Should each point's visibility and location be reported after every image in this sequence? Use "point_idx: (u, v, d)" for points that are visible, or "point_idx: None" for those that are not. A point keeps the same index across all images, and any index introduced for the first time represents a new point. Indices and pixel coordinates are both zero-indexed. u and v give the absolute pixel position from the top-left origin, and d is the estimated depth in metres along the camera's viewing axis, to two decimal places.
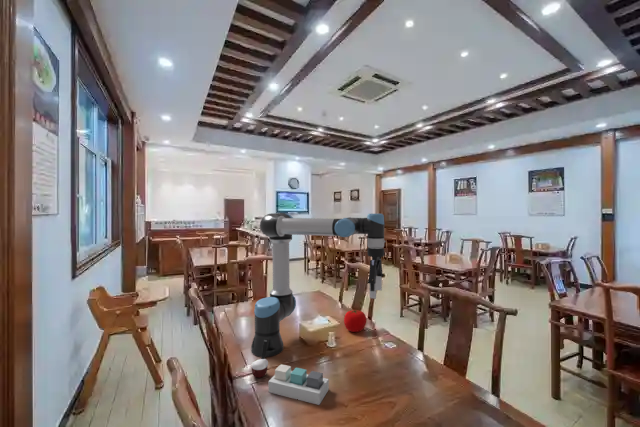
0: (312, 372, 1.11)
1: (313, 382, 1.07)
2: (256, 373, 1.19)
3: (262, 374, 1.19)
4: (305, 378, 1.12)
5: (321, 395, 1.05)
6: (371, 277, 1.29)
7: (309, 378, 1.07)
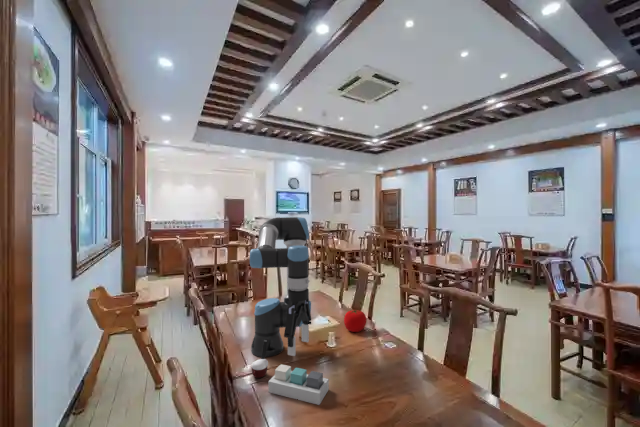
0: (312, 372, 1.11)
1: (313, 382, 1.07)
2: (256, 373, 1.19)
3: (262, 374, 1.19)
4: (305, 378, 1.12)
5: (321, 395, 1.05)
6: (287, 330, 1.03)
7: (309, 378, 1.07)
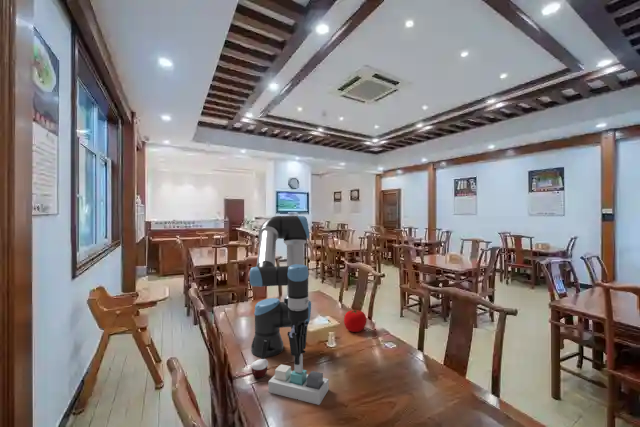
0: (312, 372, 1.11)
1: (313, 382, 1.07)
2: (256, 373, 1.19)
3: (262, 374, 1.19)
4: (305, 378, 1.12)
5: (321, 395, 1.05)
6: (293, 351, 1.07)
7: (309, 378, 1.07)
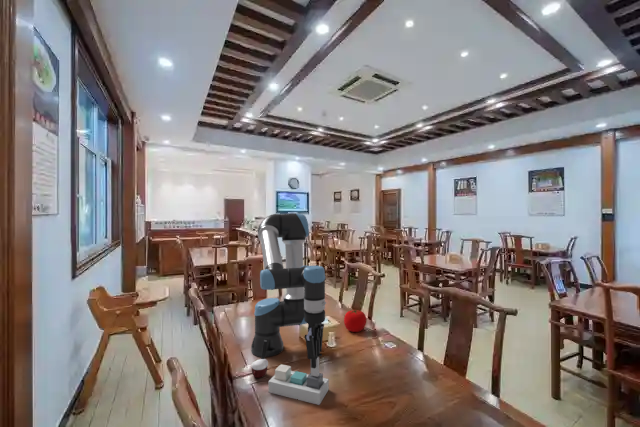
0: None
1: (313, 382, 1.07)
2: (256, 373, 1.19)
3: (262, 374, 1.19)
4: None
5: (321, 395, 1.05)
6: (310, 354, 1.05)
7: (309, 378, 1.07)
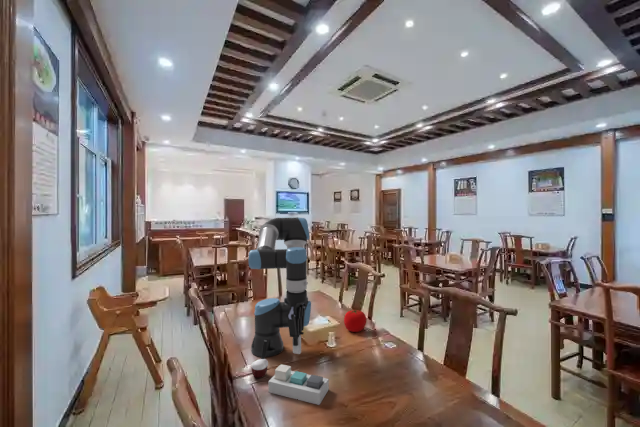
0: (312, 376, 1.11)
1: (313, 386, 1.07)
2: (256, 373, 1.19)
3: (262, 374, 1.19)
4: None
5: (321, 395, 1.05)
6: (292, 332, 1.08)
7: (309, 382, 1.07)
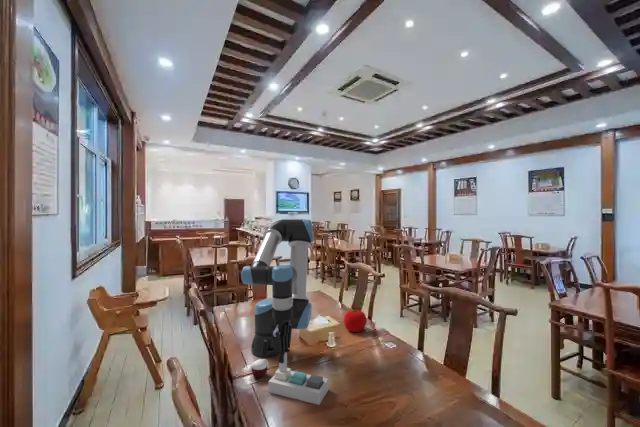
0: (312, 376, 1.11)
1: (313, 386, 1.07)
2: (256, 373, 1.19)
3: (262, 374, 1.19)
4: None
5: (321, 395, 1.05)
6: (277, 350, 1.10)
7: (309, 382, 1.07)
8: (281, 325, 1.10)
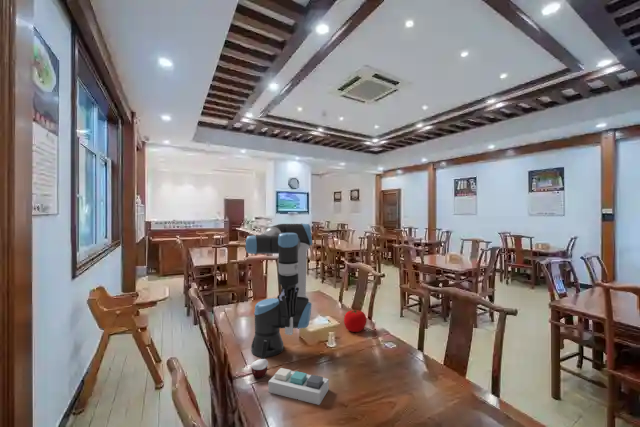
0: (312, 376, 1.11)
1: (313, 386, 1.07)
2: (256, 373, 1.19)
3: (262, 374, 1.19)
4: None
5: (321, 395, 1.05)
6: (283, 313, 1.13)
7: (309, 382, 1.07)
8: (287, 290, 1.13)
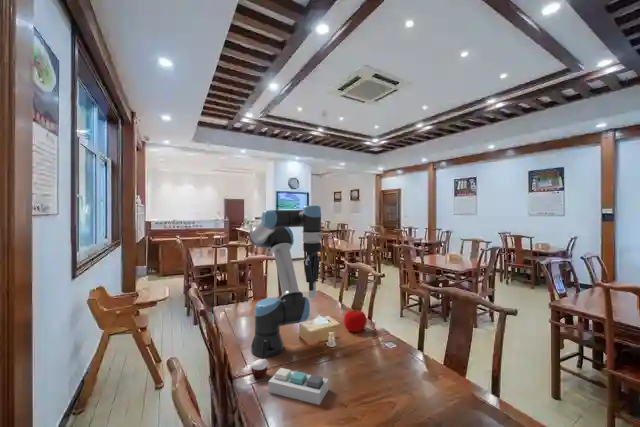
0: (312, 376, 1.11)
1: (313, 386, 1.07)
2: (256, 373, 1.19)
3: (262, 374, 1.19)
4: None
5: (321, 395, 1.05)
6: (308, 277, 1.24)
7: (309, 382, 1.07)
8: (311, 256, 1.25)
